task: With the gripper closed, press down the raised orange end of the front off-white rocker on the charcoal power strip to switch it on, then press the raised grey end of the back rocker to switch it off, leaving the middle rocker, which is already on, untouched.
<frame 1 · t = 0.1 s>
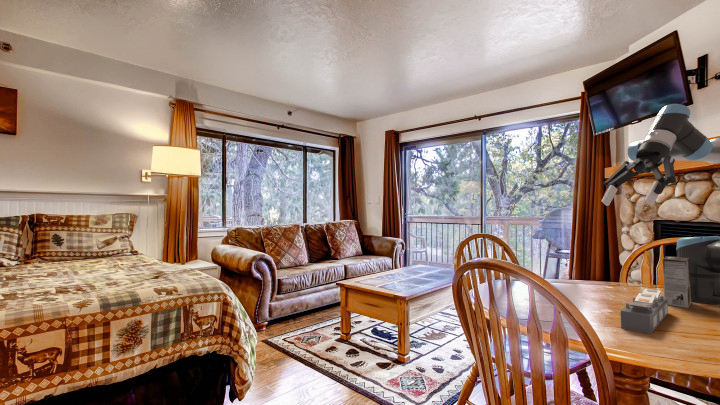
hand: (625, 203, 102), 36 cm above the table, tool tilted 35°, fingers open, 13 cm apart
power strip: (646, 320, 101), on the table
coffee box: (677, 304, 118), on the table
rocker back: (651, 294, 107), point 6 cm above the table, hinge at 12.0°
rocker middle: (645, 299, 101), point 6 cm above the table, hinge at 12.0°
rocker front: (638, 305, 96), point 6 cm above the table, hinge at -12.0°
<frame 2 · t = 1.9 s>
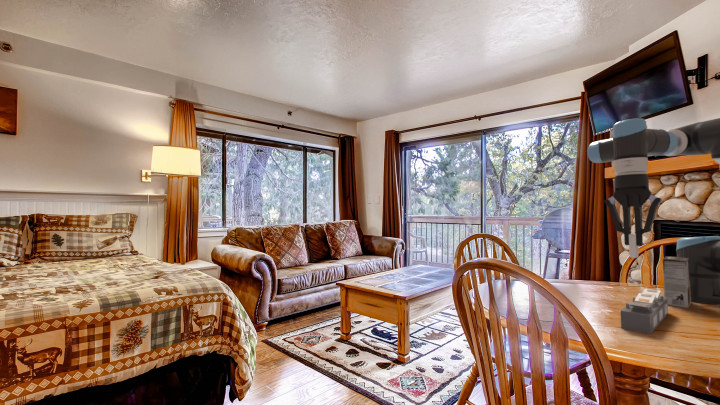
hand: (634, 257, 94), 20 cm above the table, tool pointing down, fingers closed
nothing on the table moved.
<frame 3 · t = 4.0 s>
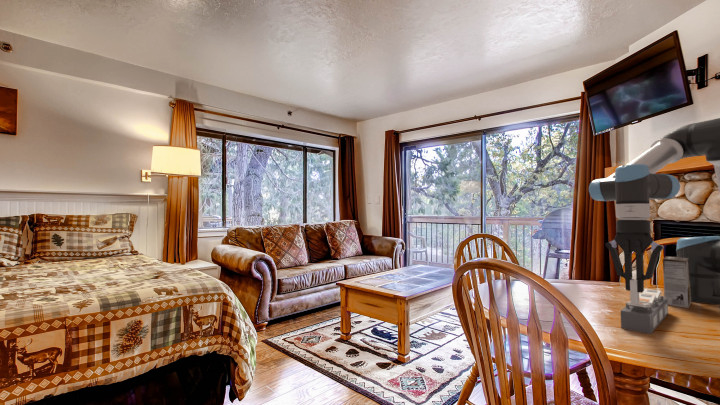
hand: (635, 303, 94), 8 cm above the table, tool pointing down, fingers closed
rocker front: (638, 305, 96), point 6 cm above the table, hinge at -9.0°, touching gripper
everything else where it was.
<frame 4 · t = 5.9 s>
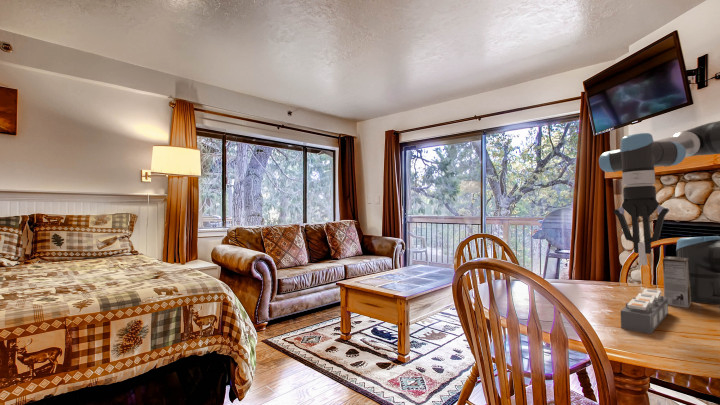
hand: (643, 264, 100), 17 cm above the table, tool pointing down, fingers closed
rocker front: (638, 305, 96), point 6 cm above the table, hinge at 5.6°
everything else where it was.
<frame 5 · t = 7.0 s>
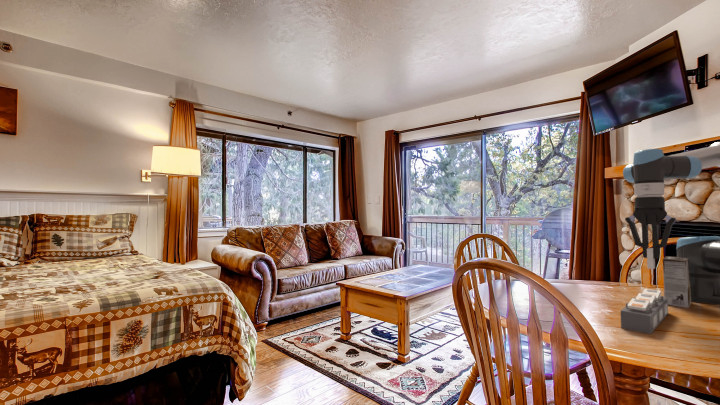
hand: (651, 268, 109), 14 cm above the table, tool pointing down, fingers closed
rocker front: (638, 305, 96), point 6 cm above the table, hinge at 9.4°
everything else where it was.
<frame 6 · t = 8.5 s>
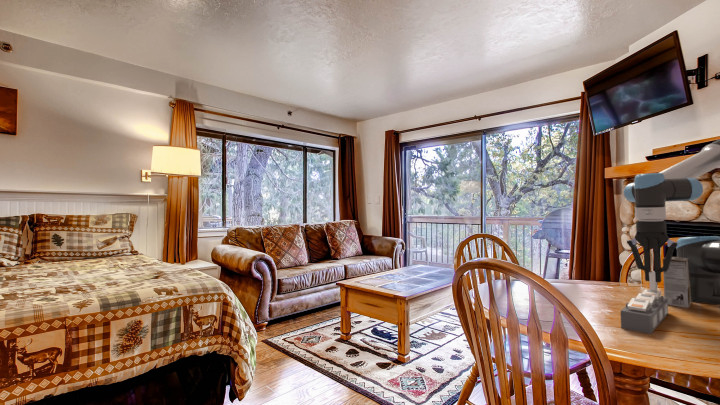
hand: (653, 291, 110), 7 cm above the table, tool pointing down, fingers closed
rocker back: (651, 294, 107), point 6 cm above the table, hinge at 7.5°, touching gripper
rocker front: (638, 305, 96), point 6 cm above the table, hinge at 12.5°
everything else where it was.
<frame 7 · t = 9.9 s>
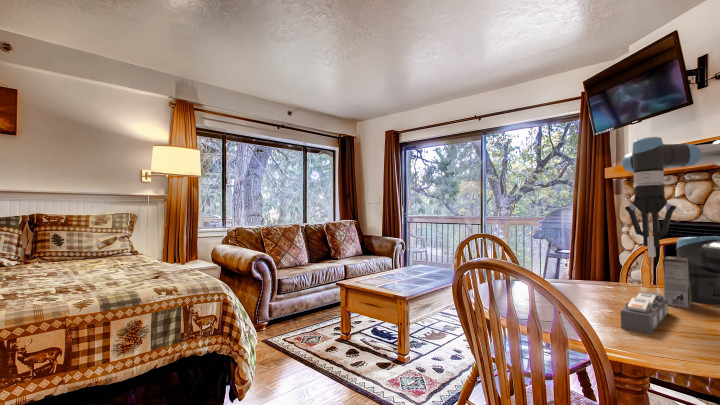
hand: (652, 256, 109), 18 cm above the table, tool pointing down, fingers closed
rocker back: (651, 294, 107), point 6 cm above the table, hinge at -13.3°
rocker front: (638, 305, 96), point 6 cm above the table, hinge at 14.2°
everything else where it was.
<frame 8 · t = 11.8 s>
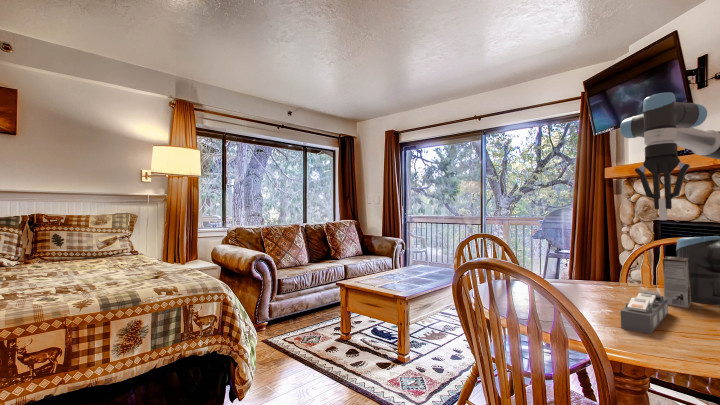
hand: (663, 219, 103), 30 cm above the table, tool pointing down, fingers closed
rocker back: (651, 294, 107), point 6 cm above the table, hinge at -21.5°, touching power strip
rocker front: (638, 305, 96), point 6 cm above the table, hinge at 15.4°
everything else where it was.
at the end: rocker front at +16° (first picture: -12°); rocker back at -21° (first picture: +12°); rocker middle at +12° (first picture: +12°) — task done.
